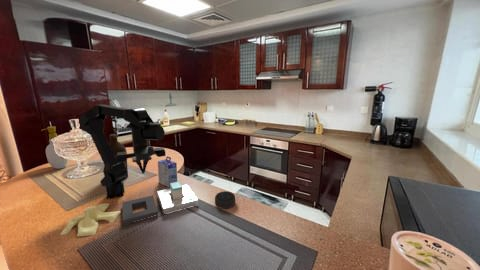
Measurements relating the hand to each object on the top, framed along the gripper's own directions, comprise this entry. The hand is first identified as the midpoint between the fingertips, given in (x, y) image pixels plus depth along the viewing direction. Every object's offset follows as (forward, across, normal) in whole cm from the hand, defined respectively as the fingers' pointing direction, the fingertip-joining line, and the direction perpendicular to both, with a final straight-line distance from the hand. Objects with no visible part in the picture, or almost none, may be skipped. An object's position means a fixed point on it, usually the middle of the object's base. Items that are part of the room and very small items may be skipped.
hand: (143, 173), depth 86 cm
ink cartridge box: (+13, +12, +12) cm, 21 cm away
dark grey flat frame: (+13, -3, -8) cm, 16 cm away
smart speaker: (+13, +30, -20) cm, 38 cm away
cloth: (+14, -20, -6) cm, 25 cm away
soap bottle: (+13, -44, +68) cm, 82 cm away
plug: (+13, +12, -8) cm, 19 cm away
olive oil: (+13, -11, +32) cm, 36 cm away
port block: (+13, +12, -8) cm, 19 cm away
